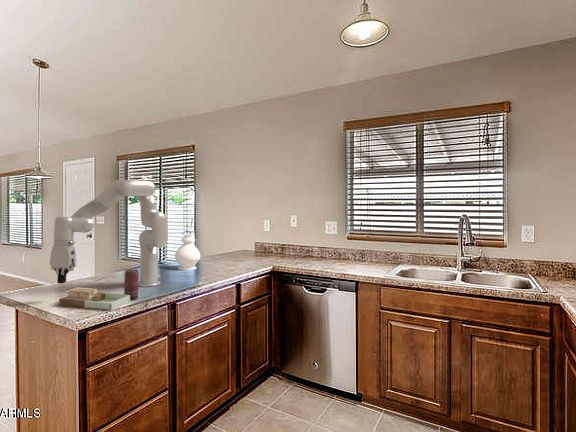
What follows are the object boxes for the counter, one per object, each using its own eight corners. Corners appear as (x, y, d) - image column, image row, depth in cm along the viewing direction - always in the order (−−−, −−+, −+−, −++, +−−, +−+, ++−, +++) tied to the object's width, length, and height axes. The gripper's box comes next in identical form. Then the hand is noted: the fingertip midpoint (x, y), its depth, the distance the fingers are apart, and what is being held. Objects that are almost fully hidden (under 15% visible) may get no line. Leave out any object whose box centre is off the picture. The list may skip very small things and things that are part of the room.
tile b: (87, 294, 157) (87, 288, 157) (96, 295, 156) (97, 289, 156) (79, 297, 152) (79, 290, 152) (89, 298, 152) (89, 291, 151)
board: (82, 297, 162) (82, 291, 162) (105, 299, 161) (105, 293, 161) (59, 305, 149) (59, 299, 148) (83, 307, 147) (83, 301, 147)
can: (131, 301, 159) (132, 272, 159) (121, 299, 162) (122, 270, 161) (141, 298, 165) (141, 270, 165) (131, 296, 167) (132, 268, 167)
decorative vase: (186, 271, 232) (187, 235, 232) (169, 268, 242) (170, 233, 241) (205, 268, 248) (206, 234, 247) (188, 265, 257) (189, 232, 256)
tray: (106, 299, 161) (106, 293, 161) (130, 301, 159) (130, 295, 159) (84, 308, 147) (84, 301, 147) (110, 310, 145) (111, 303, 145)
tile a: (76, 293, 158) (76, 287, 158) (86, 294, 157) (86, 288, 157) (68, 296, 153) (68, 289, 153) (78, 297, 152) (78, 290, 152)
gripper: (84, 243, 158) (82, 282, 158) (55, 241, 160) (53, 280, 160) (71, 245, 151) (69, 285, 151) (42, 243, 153) (40, 283, 153)
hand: (61, 282), depth 155 cm, fingers closed
